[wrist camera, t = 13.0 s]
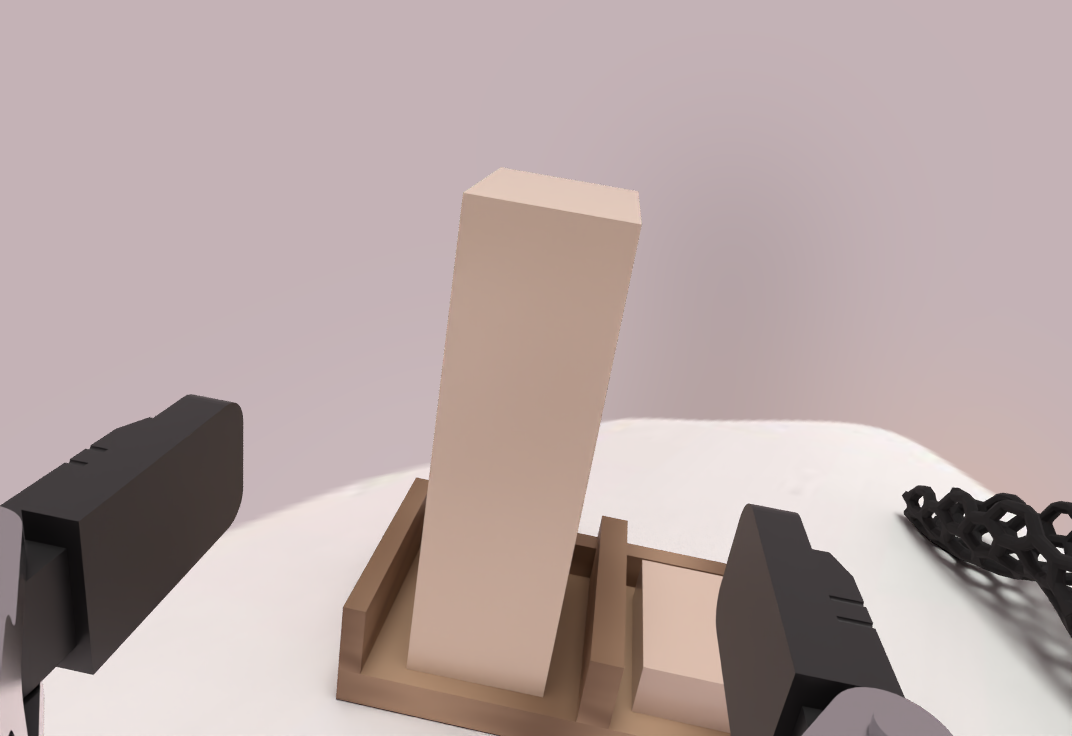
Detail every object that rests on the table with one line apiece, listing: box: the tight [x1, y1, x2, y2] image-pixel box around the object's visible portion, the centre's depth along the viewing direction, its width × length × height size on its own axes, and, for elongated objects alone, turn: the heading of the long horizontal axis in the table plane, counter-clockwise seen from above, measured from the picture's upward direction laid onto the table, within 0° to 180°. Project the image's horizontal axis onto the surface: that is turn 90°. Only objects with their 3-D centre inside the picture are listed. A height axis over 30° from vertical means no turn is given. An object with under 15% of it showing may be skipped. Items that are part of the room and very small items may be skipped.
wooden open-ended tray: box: [336, 478, 731, 736], centre depth 26 cm, size 15×8×4 cm, turn 83°
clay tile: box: [632, 560, 730, 733], centre depth 26 cm, size 4×6×2 cm
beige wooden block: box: [406, 167, 642, 697], centre depth 24 cm, size 4×6×15 cm
